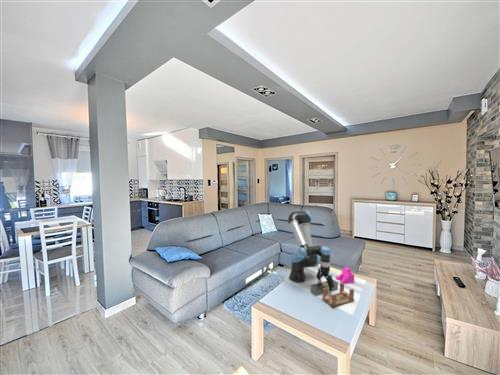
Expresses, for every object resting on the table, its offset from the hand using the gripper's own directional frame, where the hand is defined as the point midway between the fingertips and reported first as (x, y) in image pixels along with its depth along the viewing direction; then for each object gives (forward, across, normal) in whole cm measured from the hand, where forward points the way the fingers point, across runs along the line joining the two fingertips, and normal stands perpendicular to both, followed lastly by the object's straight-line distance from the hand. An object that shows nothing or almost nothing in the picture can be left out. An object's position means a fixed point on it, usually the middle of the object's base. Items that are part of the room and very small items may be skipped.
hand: (324, 290), depth 179 cm
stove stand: (0, +15, 0) cm, 15 cm away
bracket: (+1, -6, +29) cm, 30 cm away
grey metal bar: (0, 0, 0) cm, 0 cm away
